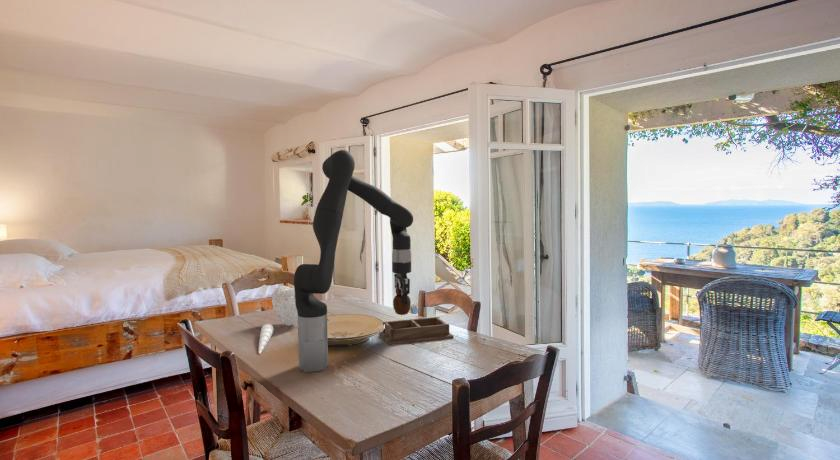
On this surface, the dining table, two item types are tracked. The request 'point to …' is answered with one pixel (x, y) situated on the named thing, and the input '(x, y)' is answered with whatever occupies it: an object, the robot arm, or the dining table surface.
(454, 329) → the dining table surface
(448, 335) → the brown divided wooden tray
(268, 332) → the unicorn horn
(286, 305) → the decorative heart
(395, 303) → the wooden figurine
